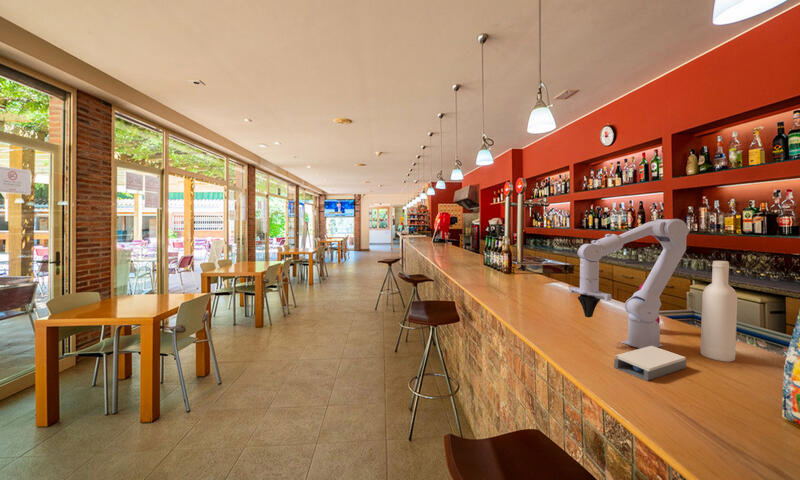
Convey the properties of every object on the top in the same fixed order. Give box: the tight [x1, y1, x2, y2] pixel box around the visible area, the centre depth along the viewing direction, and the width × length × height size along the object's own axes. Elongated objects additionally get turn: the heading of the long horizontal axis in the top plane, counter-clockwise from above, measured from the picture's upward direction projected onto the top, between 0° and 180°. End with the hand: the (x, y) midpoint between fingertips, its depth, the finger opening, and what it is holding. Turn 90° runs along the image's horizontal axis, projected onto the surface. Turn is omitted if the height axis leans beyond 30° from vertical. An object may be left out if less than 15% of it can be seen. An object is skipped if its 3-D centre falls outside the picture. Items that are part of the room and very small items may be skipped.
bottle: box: [699, 260, 739, 363], centre depth 102 cm, size 8×8×30 cm
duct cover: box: [614, 346, 687, 371], centre depth 96 cm, size 17×9×1 cm, turn 113°
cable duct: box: [613, 358, 687, 382], centre depth 96 cm, size 18×9×3 cm, turn 113°
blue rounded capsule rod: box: [633, 365, 644, 371], centre depth 95 cm, size 13×2×2 cm, turn 113°
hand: (588, 316), depth 115 cm, fingers closed
